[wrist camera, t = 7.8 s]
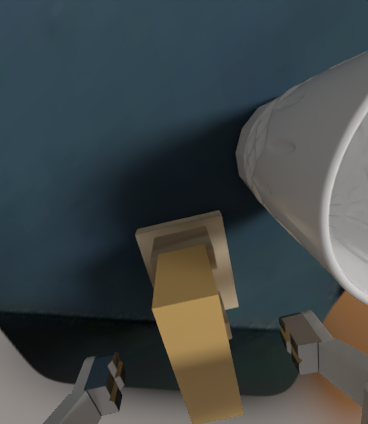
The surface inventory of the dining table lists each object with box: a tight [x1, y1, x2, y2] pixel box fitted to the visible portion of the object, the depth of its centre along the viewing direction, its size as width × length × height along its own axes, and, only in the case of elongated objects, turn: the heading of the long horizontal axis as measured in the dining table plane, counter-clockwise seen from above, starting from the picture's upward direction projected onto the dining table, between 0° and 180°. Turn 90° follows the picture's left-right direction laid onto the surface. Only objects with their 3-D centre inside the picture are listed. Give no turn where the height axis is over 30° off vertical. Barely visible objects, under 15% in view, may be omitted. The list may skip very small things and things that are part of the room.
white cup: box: [235, 51, 368, 305], centre depth 10 cm, size 8×8×10 cm
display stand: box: [135, 210, 238, 339], centre depth 15 cm, size 8×6×4 cm
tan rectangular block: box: [152, 244, 244, 424], centre depth 12 cm, size 8×3×4 cm, turn 13°
